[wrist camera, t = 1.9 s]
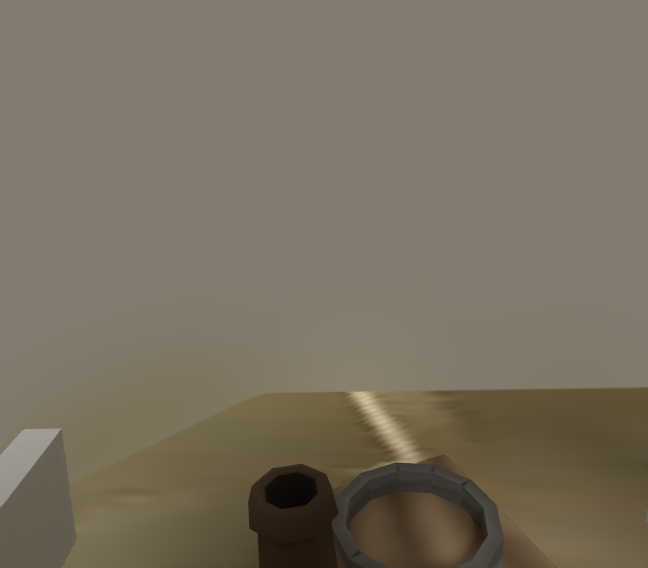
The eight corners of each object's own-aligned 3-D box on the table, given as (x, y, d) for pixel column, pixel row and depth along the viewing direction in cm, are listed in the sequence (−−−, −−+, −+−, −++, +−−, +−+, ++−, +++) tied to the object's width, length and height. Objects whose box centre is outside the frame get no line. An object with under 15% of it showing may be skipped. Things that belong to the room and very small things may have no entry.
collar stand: (444, 462, 59) (445, 435, 58) (569, 591, 43) (574, 557, 42) (290, 511, 53) (287, 482, 52) (368, 682, 37) (366, 645, 36)
